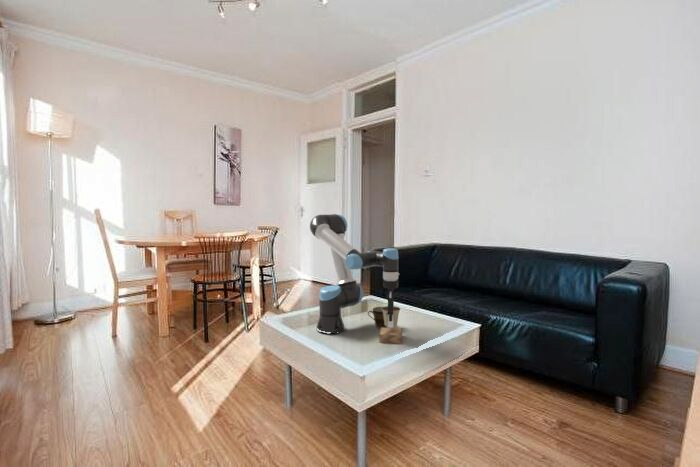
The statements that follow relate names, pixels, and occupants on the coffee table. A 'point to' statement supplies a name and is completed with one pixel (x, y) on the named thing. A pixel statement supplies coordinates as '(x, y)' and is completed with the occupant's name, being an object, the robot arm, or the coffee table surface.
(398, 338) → the stand
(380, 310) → the ceramic cup
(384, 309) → the flower pot
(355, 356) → the coffee table surface
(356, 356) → the coffee table surface
